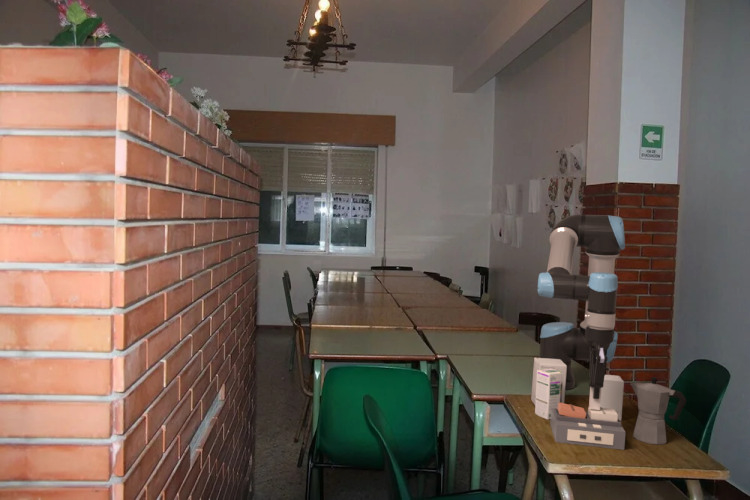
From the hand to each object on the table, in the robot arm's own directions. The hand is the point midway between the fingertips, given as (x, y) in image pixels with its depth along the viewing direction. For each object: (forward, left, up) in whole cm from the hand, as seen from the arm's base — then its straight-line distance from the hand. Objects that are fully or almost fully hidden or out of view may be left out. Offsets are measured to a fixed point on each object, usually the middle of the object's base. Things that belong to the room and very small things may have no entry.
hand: (594, 408), depth 165 cm
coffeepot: (-3, +17, -9) cm, 20 cm away
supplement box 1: (-26, -10, -9) cm, 29 cm away
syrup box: (-15, -11, -9) cm, 20 cm away
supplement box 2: (-21, +8, -9) cm, 24 cm away
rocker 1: (0, -6, -1) cm, 6 cm away
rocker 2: (0, +2, -1) cm, 3 cm away
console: (0, -2, -8) cm, 9 cm away
